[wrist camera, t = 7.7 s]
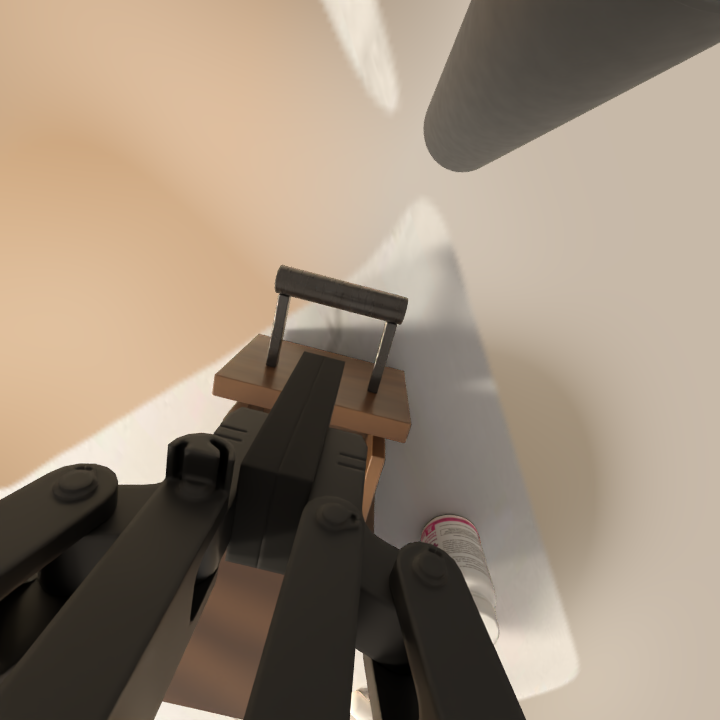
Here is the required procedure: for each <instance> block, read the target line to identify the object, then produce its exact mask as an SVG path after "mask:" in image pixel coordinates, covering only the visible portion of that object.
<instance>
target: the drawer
mask: <svg viewBox="0 0 720 720" xmlns="http://www.w3.org/2000/svg"><path fill="white" fill-rule="evenodd" d="M275 292H276V293H280V294H279V296H278V301H277V306H276V311H275V317H274V322H273V328H272V333H271V337H269V336H265V335H262V334H258V335H257V336H256V337H255V338H254V339H253V340H252V341H251V342H250V343H249V344H248V345H246V346H245V347H244V348H243V349H242V350H241V351H240V352H239V353H238V354H237V355H236V356H235V357H234V358H232V359H231V360H230V361H229V362H228V363H227V364H226V365H225V366H224V367H223V368H222V369H221V370H220V371H218V372H217V373H216V374H215V377H214V384H213V391H212V395H215V396H219V397H223V398H227V399H231V400H235V401H237V402H236V404H235V405H234V406H233V407H232V409H231V410H230V411H229V412H228V414H229V413H231V412H233V411H235V410H237V409H239V408H241V407H245V408H249V409H253V410H257V411H261V412H265V413H270V411H271V409H272V407H273V406H274V404H275V402H276V400H277V398H278V397H279V395H280V393H281V391H282V390H283V388H284V386H285V384H286V383H287V381H288V379H289V377H290V375H291V374H292V372H293V370H294V368H295V367H296V365H297V363H298V361H299V360H300V358H301V356H302V354H303V352H304V351H306V352H310V353H314V354H318V355H322V356H326V357H330V358H334V359H338V360H342V361H345V366H344V370H343V374H342V378H341V382H340V386H339V390H338V394H337V398H336V402H335V406H334V410H333V414H332V418H331V422H330V426H329V427H330V428H334V429H338V430H342V431H346V432H350V433H354V434H358V435H362V437H363V439H364V441H365V443H366V445H367V447H368V449H367V460H366V470H365V471H366V472H365V483H364V494H363V505H362V513H363V517H364V520H365V522H366V519H367V516H368V513H369V509H370V506H371V503H372V500H373V497H374V494H375V491H376V487H377V484H378V481H379V478H380V475H381V472H382V469H383V466H384V462H385V438H386V439H390V440H394V441H398V442H402V443H405V442H406V439H407V436H408V433H409V430H410V427H411V418H410V411H409V404H408V396H407V389H406V382H405V374H404V371H402V370H398V369H394V368H390V367H386V366H385V365H386V361H387V358H388V355H389V351H390V348H391V344H392V341H393V337H394V334H395V331H396V327H397V324H399V325H401V324H402V322H403V319H404V316H405V313H406V309H407V305H408V298H406V297H403V296H399V295H395V294H391V293H387V292H384V291H380V290H376V289H372V288H368V287H365V286H361V285H357V284H353V283H349V282H346V281H342V280H338V279H334V278H330V277H326V276H323V275H319V274H315V273H311V272H307V271H304V270H300V269H296V268H292V267H288V266H285V265H281V266H280V268H279V270H278V272H277V276H276V280H275ZM291 296H292V297H295V298H300V299H303V300H307V301H311V302H315V303H318V304H322V305H326V306H330V307H334V308H338V309H342V310H345V311H349V312H353V313H357V314H361V315H365V316H368V317H372V318H376V319H380V320H384V321H386V323H385V327H384V331H383V334H382V338H381V341H380V345H379V348H378V352H377V355H376V359H375V362H374V363H371V362H367V361H363V360H359V359H355V358H351V357H347V356H343V355H339V354H336V353H332V352H328V351H324V350H320V349H316V348H312V347H308V346H304V345H300V344H297V343H293V342H289V341H285V340H283V336H284V330H285V325H286V320H287V315H288V310H289V305H290V300H291ZM228 414H227V415H228ZM227 415H226V416H227ZM226 416H225V417H224V419H225V418H226ZM224 419H223V420H224Z"/></svg>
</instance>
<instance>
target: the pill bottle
mask: <svg viewBox="0 0 720 720" xmlns="http://www.w3.org/2000/svg"><path fill="white" fill-rule="evenodd" d="M421 542H424V543H429V544H432V545H434V546H436V547H438V548H440V549H442V550H444V551H445V552H446V553H447V554H448V555H449V556H450V557H452V558H453V559H454V560H455V562H456V564H457V565H458V567H459V568H460V570H461V572H462V574H463V576H464V579H465V581H466V583H467V586H468V588H469V590H470V592H471V595H472V597H473V599H474V602H475V604H476V606H477V608H478V611H479V613H480V615H481V618H482V620H483V622H484V624H485V627H486V629H487V631H488V634H489V636H490V638H491V640H492V643H493V645H494V644H495V643H496V642H497V640H498V637H499V625H498V621H497V617H496V611H495V607H496V594H495V590H494V586H493V583H492V580H491V577H490V573H489V570H488V567H487V563H486V560H485V556H484V553H483V549H482V546H481V541H480V537H479V534H478V532H477V530H476V528H475V526H474V525H473V524H472V523H471V522H470V521H469V520H467V519H465V518H463V517H460V516H455V515H443V516H439V517H437V518H434V519H433V520H431V521H430V522H429V523H428V524H427V525H426V526H425V527H424V529H423V531H422V535H421Z"/></svg>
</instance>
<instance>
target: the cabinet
mask: <svg viewBox="0 0 720 720" xmlns="http://www.w3.org/2000/svg"><path fill="white" fill-rule="evenodd" d="M374 506H375V494H374V497H373V500H372V503H371V506H370V509H369V513H368V516H367V519H366V522H365V523H366V524H367V526H368V527H369V529H370V530H371V531H372V532H373V533H374ZM226 551H227V548H226ZM226 551H225V553H224V555H223V557H222V559H221V561H220V563H219V568H218V574H217V578H216V583H215V585H214V587H213V590H212V592H211V594H210V596H209V599H208V601H207V603H206V605H205V607H204V610H203V612H202V614H201V616H200V618H199V621H198V623H197V625H196V627H195V630H194V632H193V634H192V636H191V638H190V641H189V643H188V645H187V647H186V649H185V652H184V654H183V656H182V658H181V661H180V663H179V665H178V667H177V669H176V672H175V674H174V676H173V678H172V681H171V683H170V685H169V687H168V689H167V692H166V694H165V696H164V698H163V700H162V701H163V702H168V703H172V704H176V705H181V706H185V707H190V708H194V709H198V710H203V711H207V712H212V713H216V714H221V715H225V716H229V717H234V718H238V719H244V715H245V712H246V708H247V705H248V701H249V698H250V694H251V691H252V687H253V684H254V680H255V677H256V673H257V670H258V666H259V663H260V659H261V655H262V652H263V648H264V645H265V641H266V638H267V634H268V631H269V627H270V624H271V620H272V617H273V613H274V610H275V606H276V603H277V599H278V596H279V592H280V589H281V585H282V582H283V578H284V575H282V574H278V573H274V572H270V571H266V570H261V569H257V568H253V567H249V566H245V565H241V564H236V563H232V562H228V561H225V557H226Z"/></svg>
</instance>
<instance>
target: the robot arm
mask: <svg viewBox="0 0 720 720" xmlns="http://www.w3.org/2000/svg"><path fill="white" fill-rule="evenodd" d="M344 366H345V361H342V360H338V359H334V358H330V357H326V356H322V355H318V354H314V353H310V352H306V351H304V352H303V354H302V356H301V358H300V360H299V361H298V363H297V365H296V367H295V368H294V370H293V372H292V374H291V375H290V377H289V379H288V381H287V383H286V384H285V386H284V388H283V390H282V391H281V393H280V395H279V397H278V398H277V400H276V402H275V404H274V406H273V407H272V409H271V411H270V413H265V412H261V411H257V410H253V409H249V408H245V407H241V408H239V409H237V410H235V411H233V412H231V413H229V414H228V415H227V416H226V418H225V419H224V420H223V422H222V423H221V425H220V426H219V427H218V428H217V430H216V431H215V432H214V434H206V433H196V434H188V435H185V436H182V437H179V438H177V439H175V440H174V441H172V442H171V443H170V444H168V453H167V466H166V478H165V479H164V481H163V482H161V483H157V484H148V485H118V480H117V477H116V474H115V473H114V472H113V471H112V470H110V469H109V468H108V467H105V466H101V465H97V464H75V465H70V466H65V467H62V468H59V469H57V470H55V471H52V472H50V473H48V474H46V475H44V476H42V477H41V478H39V479H37V480H35V481H33V482H32V483H30V484H28V485H26V486H24V487H23V488H21V489H19V490H17V491H15V492H14V493H12V494H10V495H8V496H6V497H5V498H3V499H1V500H0V720H154V718H155V716H156V714H157V712H158V709H159V707H160V705H161V703H162V700H163V698H164V696H165V694H166V692H167V689H168V687H169V685H170V683H171V681H172V678H173V676H174V674H175V672H176V669H177V667H178V665H179V663H180V661H181V658H182V656H183V654H184V652H185V649H186V647H187V645H188V643H189V641H190V638H191V636H192V634H193V632H194V630H195V627H196V625H197V623H198V621H199V618H200V616H201V614H202V612H203V610H204V607H205V605H206V603H207V601H208V599H209V596H210V594H211V592H212V590H213V587H214V585H215V583H216V578H217V574H218V568H219V563H220V561H221V559H222V557H223V555H224V553H225V551H226V548H227V551H226V557H225V561H228V562H232V563H236V564H241V565H245V566H249V567H253V568H257V569H261V570H266V571H270V572H274V573H278V574H282V575H284V578H283V582H282V585H281V589H280V592H279V596H278V599H277V603H276V606H275V610H274V613H273V617H272V620H271V624H270V627H269V631H268V634H267V638H266V641H265V645H264V648H263V652H262V655H261V659H260V663H259V666H258V670H257V673H256V677H255V680H254V684H253V687H252V691H251V694H250V698H249V701H248V705H247V708H246V712H245V715H244V719H243V720H350V709H351V696H352V684H353V671H354V659H355V648H356V649H357V650H359V651H360V652H362V653H363V660H364V667H365V673H366V679H367V686H368V692H369V698H370V705H371V711H372V718H373V720H526V719H525V716H524V714H523V712H522V709H521V707H520V705H519V702H518V700H517V698H516V695H515V693H514V691H513V689H512V686H511V684H510V682H509V679H508V677H507V675H506V673H505V670H504V668H503V666H502V663H501V661H500V659H499V657H498V654H497V652H496V650H495V647H494V645H493V643H492V640H491V638H490V636H489V634H488V631H487V629H486V627H485V624H484V622H483V620H482V618H481V615H480V613H479V611H478V608H477V606H476V604H475V602H474V599H473V597H472V595H471V592H470V590H469V588H468V586H467V583H466V581H465V579H464V576H463V574H462V572H461V570H460V568H459V567H458V565H457V564H456V562H455V560H454V559H453V558H452V557H450V556H449V555H448V554H447V553H446V552H445V551H444V550H442V549H440V548H438V547H436V546H434V545H432V544H429V543H424V542H413V543H408V544H407V545H405V546H404V547H402V548H401V549H400V550H399V549H397V548H396V547H394V546H392V545H390V544H388V543H386V542H385V541H383V540H382V539H380V538H379V537H377V536H376V535H375V534H374V533H373V532H372V531H371V530H370V529H369V527H368V526H367V524H366V523H365V520H364V517H363V513H362V505H363V494H364V483H365V472H366V471H365V470H366V460H367V449H368V447H367V445H366V443H365V441H364V439H363V437H362V435H358V434H354V433H350V432H346V431H342V430H338V429H334V428H330V427H329V426H330V422H331V418H332V414H333V410H334V406H335V402H336V398H337V394H338V390H339V386H340V382H341V378H342V374H343V370H344Z"/></svg>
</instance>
